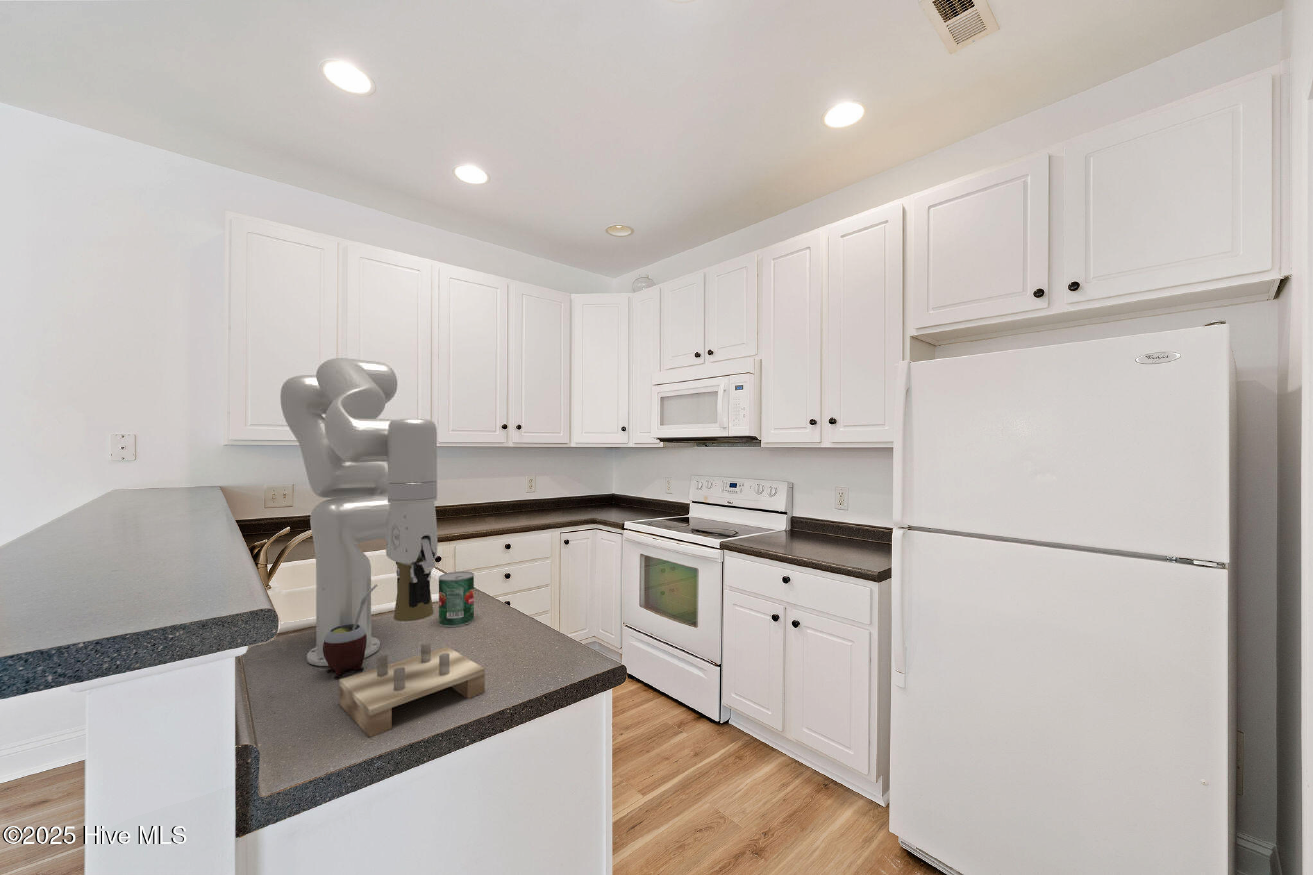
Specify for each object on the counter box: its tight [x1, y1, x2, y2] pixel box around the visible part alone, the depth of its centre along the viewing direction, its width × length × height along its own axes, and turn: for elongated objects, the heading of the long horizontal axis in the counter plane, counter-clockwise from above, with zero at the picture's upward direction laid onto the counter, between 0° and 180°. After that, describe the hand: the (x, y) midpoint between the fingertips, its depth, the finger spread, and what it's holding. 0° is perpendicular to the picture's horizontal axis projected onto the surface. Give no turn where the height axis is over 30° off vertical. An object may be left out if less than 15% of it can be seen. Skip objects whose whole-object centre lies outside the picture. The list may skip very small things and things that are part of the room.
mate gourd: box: [323, 584, 378, 680], centre depth 97 cm, size 8×8×15 cm
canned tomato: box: [438, 570, 475, 628], centre depth 122 cm, size 8×8×11 cm
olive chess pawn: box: [393, 558, 434, 622], centre depth 86 cm, size 6×6×11 cm
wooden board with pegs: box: [338, 641, 486, 738], centre depth 86 cm, size 14×18×7 cm
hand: (413, 601), depth 86 cm, fingers closed on olive chess pawn, 4 cm apart
